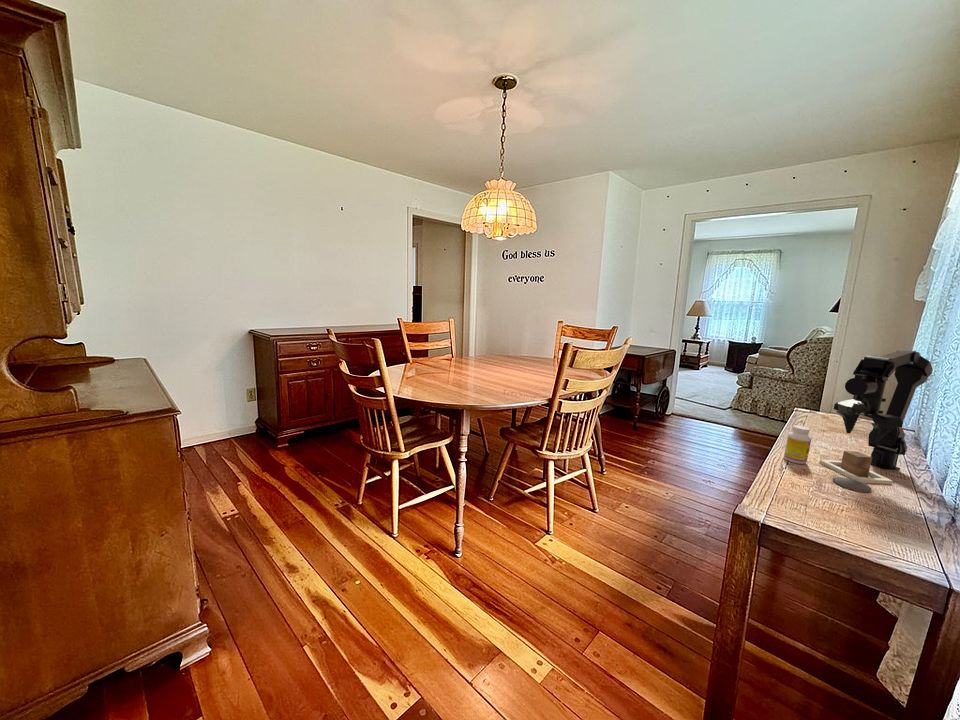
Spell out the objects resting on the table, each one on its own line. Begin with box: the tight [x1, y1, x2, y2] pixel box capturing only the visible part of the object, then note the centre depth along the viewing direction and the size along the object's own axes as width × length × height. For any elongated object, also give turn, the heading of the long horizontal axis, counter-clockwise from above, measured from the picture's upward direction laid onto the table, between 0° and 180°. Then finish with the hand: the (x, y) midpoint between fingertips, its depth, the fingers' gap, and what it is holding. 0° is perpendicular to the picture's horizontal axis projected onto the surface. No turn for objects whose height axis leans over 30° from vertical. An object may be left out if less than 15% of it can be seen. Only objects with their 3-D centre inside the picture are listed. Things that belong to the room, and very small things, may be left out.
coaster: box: [832, 476, 872, 493], centre depth 124 cm, size 9×9×1 cm
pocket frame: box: [819, 459, 893, 485], centre depth 133 cm, size 11×15×1 cm
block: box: [839, 450, 872, 478], centre depth 133 cm, size 5×5×7 cm
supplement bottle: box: [783, 424, 812, 465], centre depth 140 cm, size 7×7×13 cm
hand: (860, 437), depth 132 cm, fingers open, 9 cm apart
